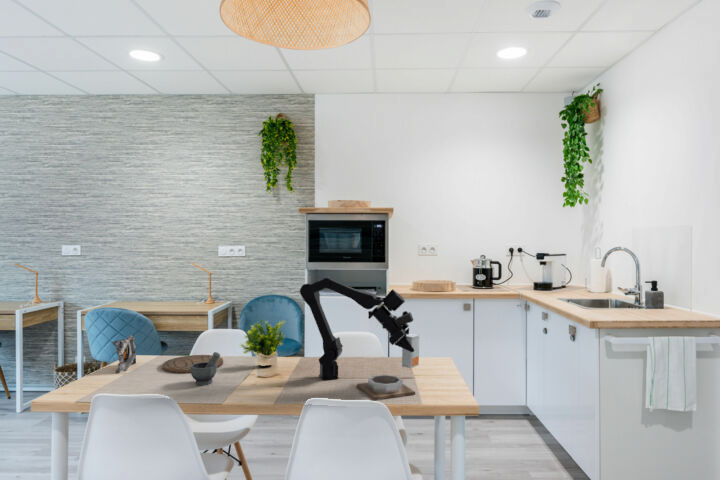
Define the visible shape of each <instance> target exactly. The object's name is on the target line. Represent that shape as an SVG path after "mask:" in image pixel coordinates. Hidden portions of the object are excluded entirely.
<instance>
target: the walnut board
mask: <svg viewBox="0 0 720 480" xmlns="http://www.w3.org/2000/svg"><path fill="white" fill-rule="evenodd" d="M384 384H385V383H384ZM356 388H358V389H359V390H360V391H361V392H363V393H364V394H366V395H367V396H369V397H370V398H371V399H373V400H374V401H380V400H387V399H393V398H400V397H401V398H402V397H407V396H412V395H413V396H414V395H416V391H415V390H413V389H412V388H410V387H409V386H406V385H405V384H403V386H402V389H401V390H400V391H399V392H393V393H380V392H373V391H372V390H371V389H369V388H368V382H363V383H356Z"/></svg>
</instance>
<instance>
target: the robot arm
mask: <svg viewBox="0 0 720 480" xmlns="http://www.w3.org/2000/svg"><path fill="white" fill-rule="evenodd" d="M325 289H329V290H331V291H333V292H336V293H338V294H340V295H342V296H345V297H347V298H349V299H351V300H353V301H354V302H355V303H357V304H358V305H359V306H361V307H362V308H363V309H366V310H369V311H368V312H367V313H368V317H367V318H368V319H372V317H374V318H375V319H376V321H378V323H379V324H380V325H381V328H382V329H383V330H385V331H387V333H389V337H388V342H389V343H390V345H392V346H393V345H395V346H397V347H399V348H401V349H402V348H404V349H406V350H408V351H410V352H414V349H413V347H412V346H411V344H410V343H409V341H408V340H407V334H410V325H409V323H412V322H414V317H413V316H412V312H408V311H407V310H405V311H402V315H400V316H397V315H393V314H392V313H391V312H392V311H393V312H396V311H397V310H398V309H399V308H400V307H401V306H402V305H403V304H404V303H405V302H406V301H405V299H404V297H403V295H401V294H400V293H398V292H397V291H395V290H394V289H391V290H390V291H389V293H388V294H386V296H385V297H381V296H377V295H376V293H373V292H369V291H365V290H358V289H356V288H353V287H351V286H349V285H347V284H345V283H342V282H340V281H338V280H335V279H334V278H332V277H330V276H329V277H328V276H327V277H325V278H323V279H321V280H318V281H316V282H308V283H305V284H303V285H302V286H301V287H300V288H299V293H300V295H301V298H302V299H303V301H304V302H305V303H306V305H308V307H309V309H310V311H311V313H312V316H313V318H314V321H315V324H316V326H317V329H318V331H319V334H320V336H321V339H322V349H323V354H322V355H321V357H319V358H318V362H319V374H318V377H319V378H321V380H322V381H331V380H336V379H337V380H338V379H339V365H338V361H337V360H338V358H339V357H340V356H341V355H342V353H343V347H344V346H343V344H342V343H341V339H340V337H339V336H338V337H335V336H334V334H333V331H332V330H331V327H330V325H329V322H328V320H327V317H326V314H325V311H324V309H323V307H322V304H321V299H320V298H321V297H320V295H321V294H320V291H322V290H325ZM380 305H381V306H380ZM379 306H380V307H379ZM371 309H373V310H371Z"/></svg>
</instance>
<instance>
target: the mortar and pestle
mask: <svg viewBox="0 0 720 480" xmlns="http://www.w3.org/2000/svg"><path fill="white" fill-rule="evenodd" d="M212 355H213V356H212V358H211V359H210V361H209V362H202V363H196V364H193V365H191V368H190V371H191V373H190V375H191V378H192V379H194V381H195V382H194V383H195V385H196V386H199V387H204V386H209V385H211V384H213V378H214V377H215V376H216V373H217V370H218V368H217V364H216V362H217V360H218V358H219V357H221V353H219V352H217V351H214V352H213V353H212Z"/></svg>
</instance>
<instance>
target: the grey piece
mask: <svg viewBox="0 0 720 480" xmlns="http://www.w3.org/2000/svg"><path fill="white" fill-rule="evenodd" d="M112 345H113V346H114V347H115V353H116V354H117V356H118V362H119V363H118V364H117V369H116V370H115V374H121V372H127V371H128V370H129V369H130V366H131V365H135V364H137V357H136V356H137V351H136V344H135V336H134V335H133V334H130V335H129V336H127V338H123V339H121V340H120V339H119V340H114V341H112Z"/></svg>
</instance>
